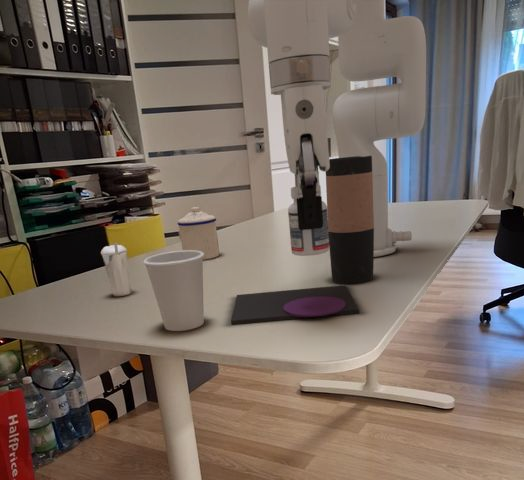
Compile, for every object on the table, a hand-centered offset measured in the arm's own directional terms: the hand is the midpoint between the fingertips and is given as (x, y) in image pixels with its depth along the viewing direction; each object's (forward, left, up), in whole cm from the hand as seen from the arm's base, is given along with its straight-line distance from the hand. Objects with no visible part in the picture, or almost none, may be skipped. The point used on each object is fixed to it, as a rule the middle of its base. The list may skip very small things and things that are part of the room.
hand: (309, 224), depth 71 cm
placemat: (+3, -4, -12) cm, 13 cm away
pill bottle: (0, 0, -4) cm, 4 cm away
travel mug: (-8, -17, -13) cm, 23 cm away
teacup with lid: (+24, -53, -13) cm, 59 cm away
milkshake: (+34, -21, -13) cm, 42 cm away
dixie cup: (+19, +1, -13) cm, 23 cm away
